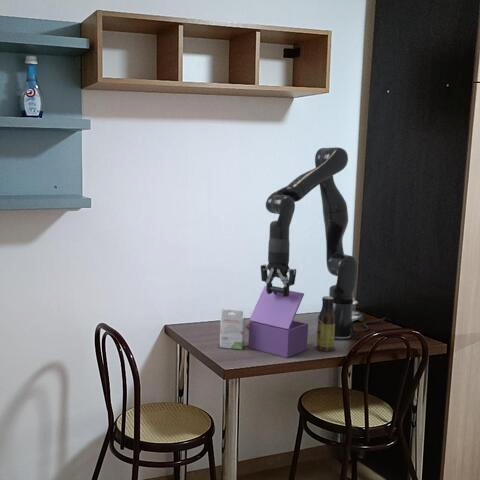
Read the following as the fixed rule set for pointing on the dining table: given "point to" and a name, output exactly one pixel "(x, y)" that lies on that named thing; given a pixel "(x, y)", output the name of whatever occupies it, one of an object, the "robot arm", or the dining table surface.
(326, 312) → the sauce bottle
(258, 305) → the file box lid
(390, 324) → the dining table surface
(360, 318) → the toy car
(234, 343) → the ink box
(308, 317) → the dining table surface
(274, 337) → the box
